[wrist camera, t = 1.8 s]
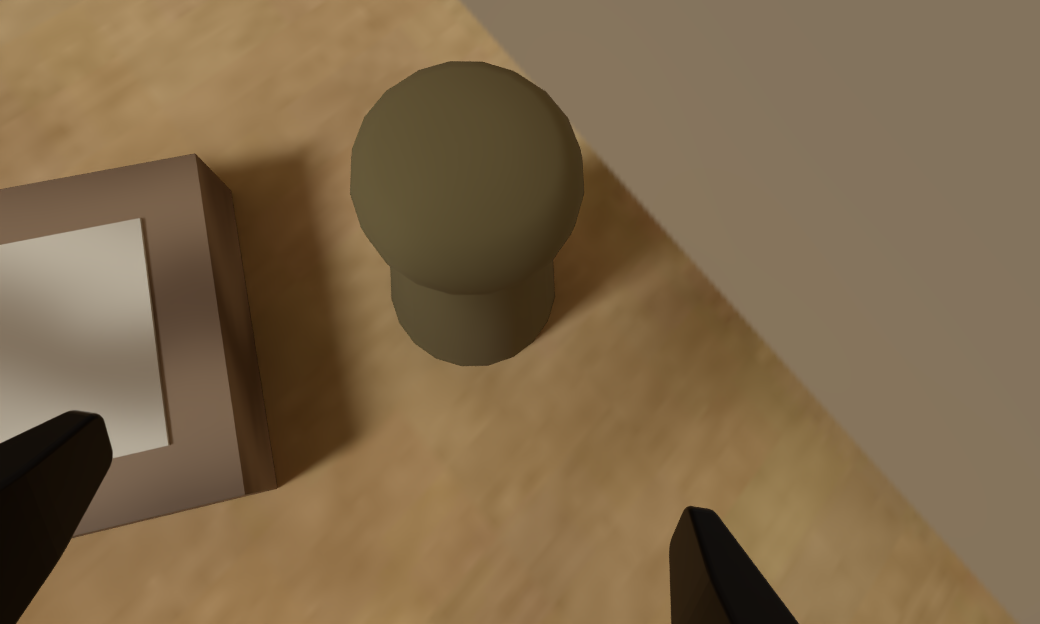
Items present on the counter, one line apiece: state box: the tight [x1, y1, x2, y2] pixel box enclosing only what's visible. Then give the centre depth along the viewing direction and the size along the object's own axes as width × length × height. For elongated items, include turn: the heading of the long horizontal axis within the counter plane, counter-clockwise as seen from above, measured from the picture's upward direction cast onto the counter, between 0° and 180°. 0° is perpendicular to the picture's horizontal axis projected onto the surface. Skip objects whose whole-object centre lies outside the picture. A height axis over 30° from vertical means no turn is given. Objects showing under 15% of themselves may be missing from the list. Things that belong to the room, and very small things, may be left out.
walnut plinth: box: [0, 154, 277, 538], centre depth 20 cm, size 11×11×3 cm
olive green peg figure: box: [350, 61, 584, 366], centre depth 18 cm, size 6×6×11 cm
